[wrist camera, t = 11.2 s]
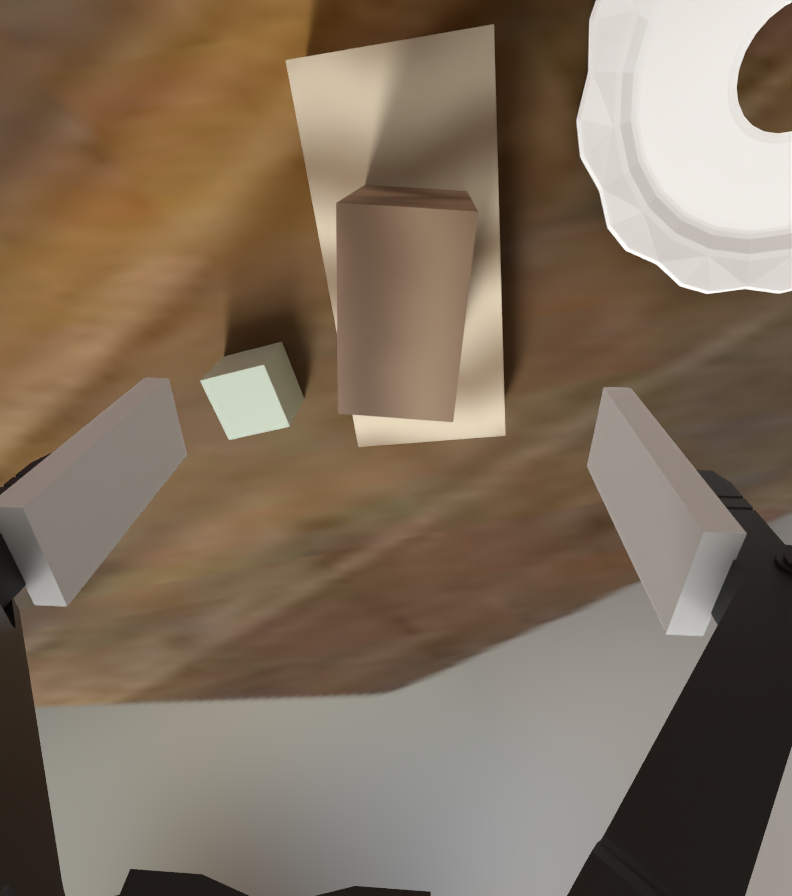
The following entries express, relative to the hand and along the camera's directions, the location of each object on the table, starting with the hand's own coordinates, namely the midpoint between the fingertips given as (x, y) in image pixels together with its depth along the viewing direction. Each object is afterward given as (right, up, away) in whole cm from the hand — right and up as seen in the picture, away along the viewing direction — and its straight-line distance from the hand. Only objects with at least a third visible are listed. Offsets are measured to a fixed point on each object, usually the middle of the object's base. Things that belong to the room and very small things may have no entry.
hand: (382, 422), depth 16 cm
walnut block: (+1, +10, +17) cm, 20 cm away
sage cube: (-10, +5, +26) cm, 29 cm away
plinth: (+2, +13, +21) cm, 25 cm away
